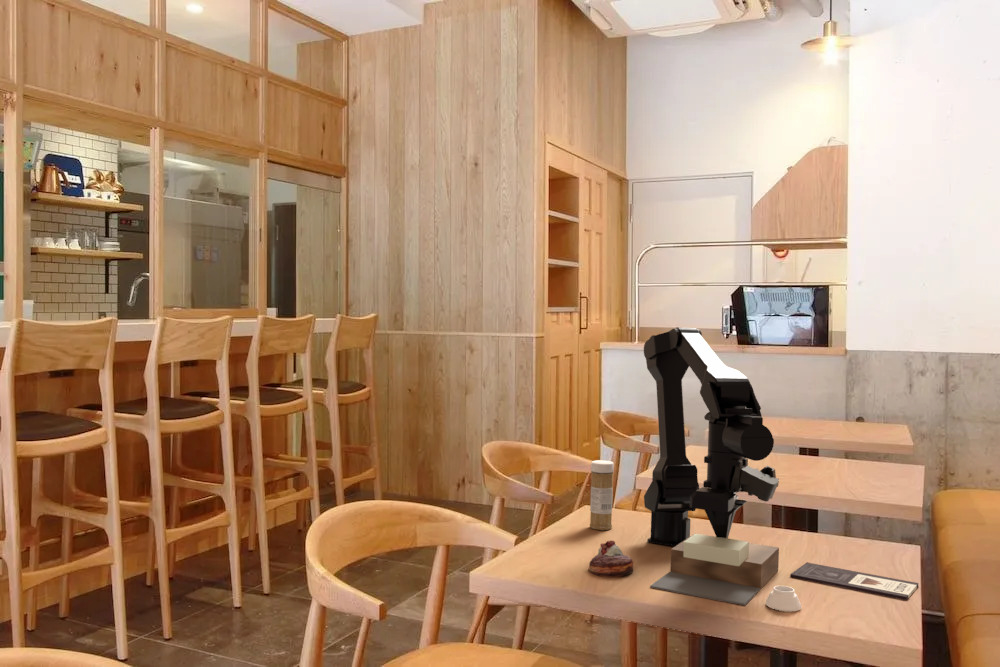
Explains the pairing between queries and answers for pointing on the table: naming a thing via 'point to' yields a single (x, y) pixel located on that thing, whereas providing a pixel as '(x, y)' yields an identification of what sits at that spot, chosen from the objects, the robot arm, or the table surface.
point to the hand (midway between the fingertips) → (722, 543)
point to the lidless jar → (783, 599)
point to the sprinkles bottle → (601, 494)
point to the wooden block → (730, 566)
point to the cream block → (716, 549)
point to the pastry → (610, 561)
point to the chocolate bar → (856, 581)
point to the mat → (706, 588)
